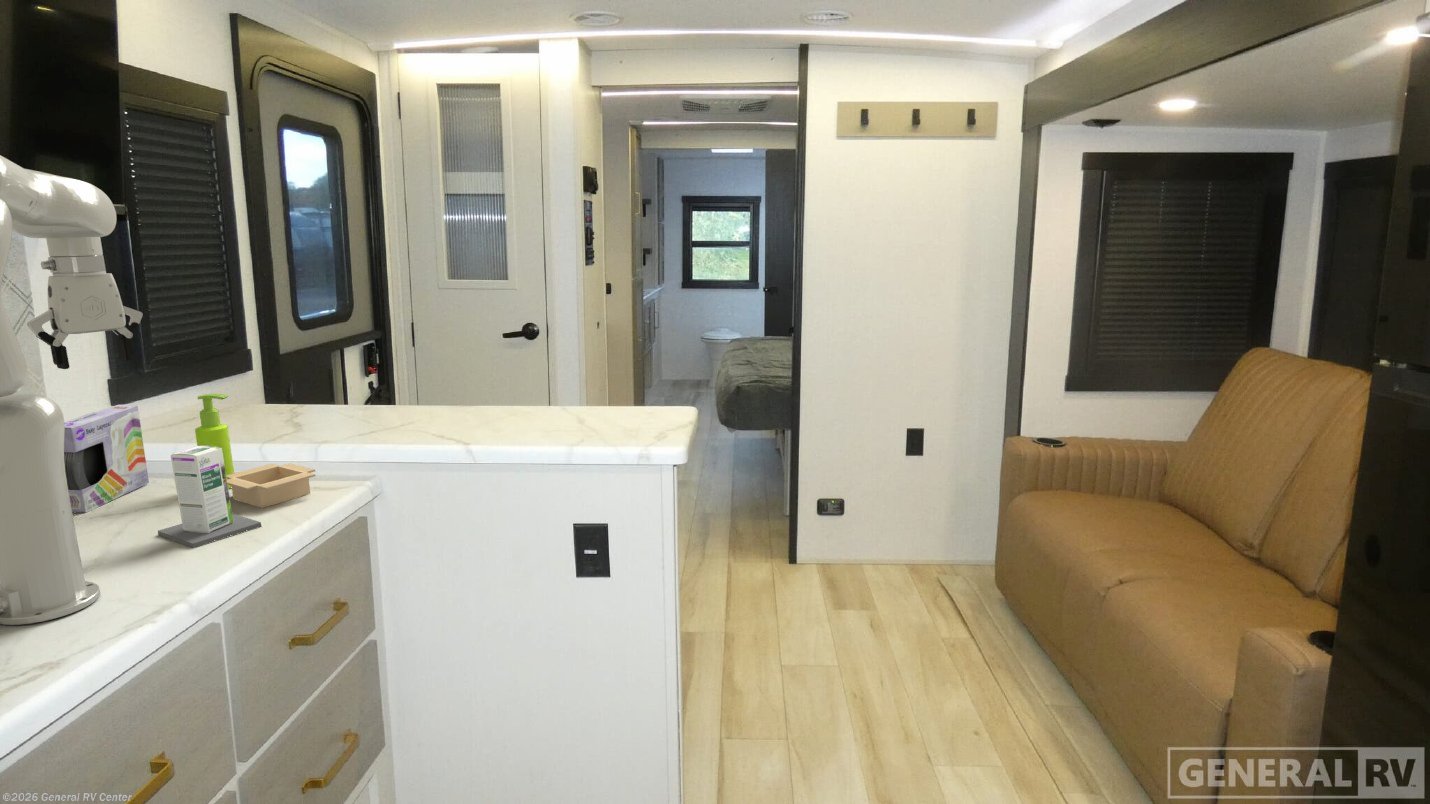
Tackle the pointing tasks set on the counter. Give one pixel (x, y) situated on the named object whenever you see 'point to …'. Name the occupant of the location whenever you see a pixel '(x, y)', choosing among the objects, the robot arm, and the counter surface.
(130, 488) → the cake pan box
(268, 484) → the carton
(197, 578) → the counter surface
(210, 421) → the soap dispenser
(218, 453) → the syrup box
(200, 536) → the mat
